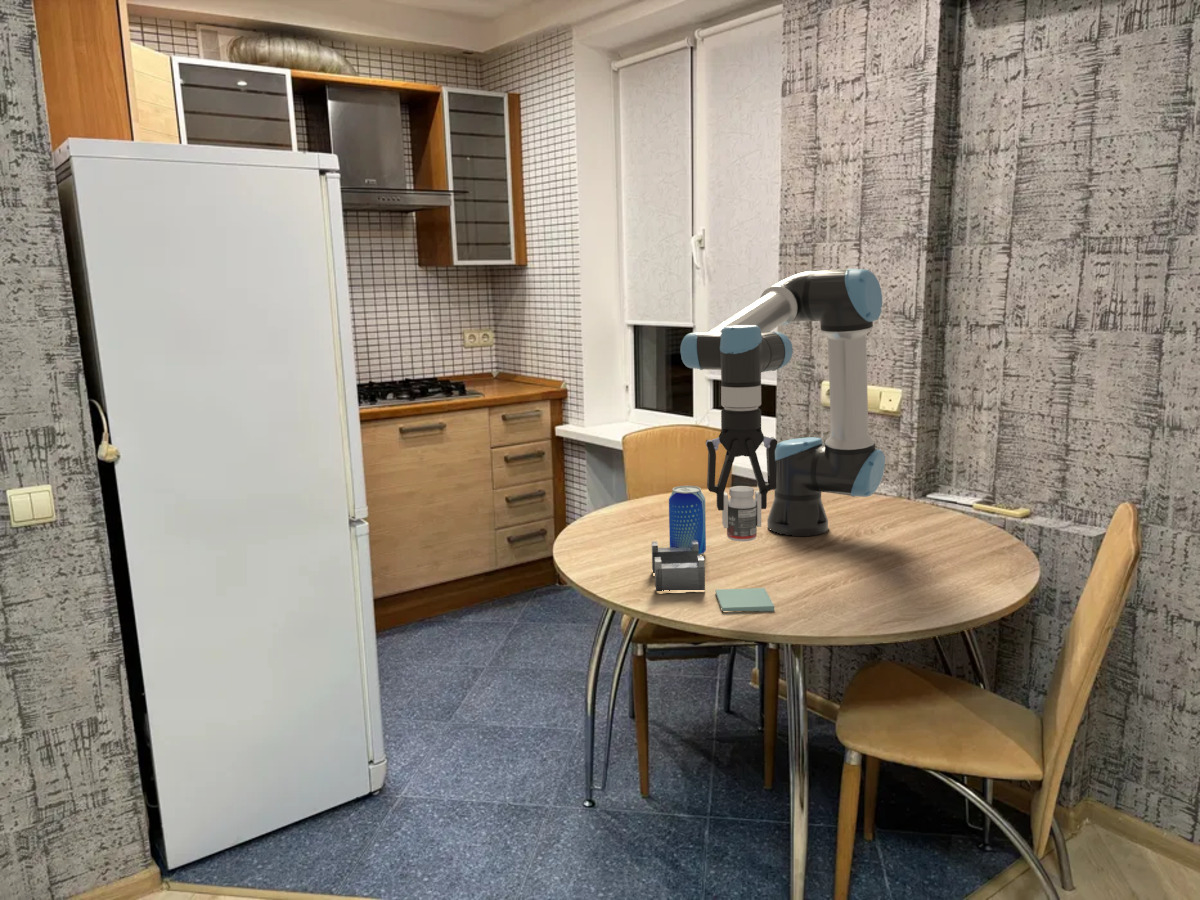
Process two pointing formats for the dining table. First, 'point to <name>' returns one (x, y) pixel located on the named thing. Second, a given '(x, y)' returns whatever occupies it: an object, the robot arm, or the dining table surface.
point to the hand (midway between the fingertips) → (741, 525)
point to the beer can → (687, 517)
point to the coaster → (744, 599)
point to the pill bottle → (742, 514)
